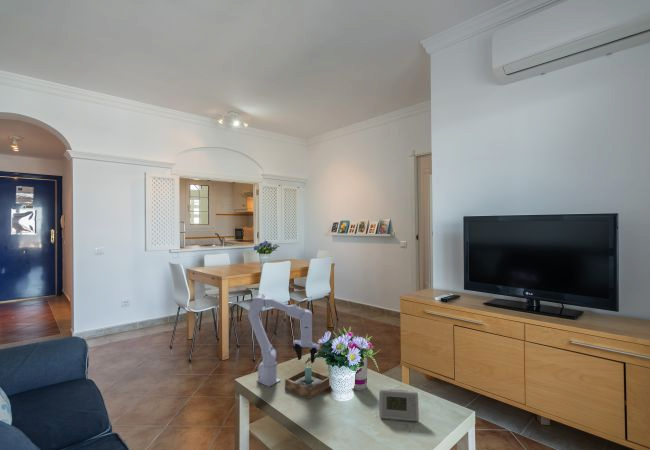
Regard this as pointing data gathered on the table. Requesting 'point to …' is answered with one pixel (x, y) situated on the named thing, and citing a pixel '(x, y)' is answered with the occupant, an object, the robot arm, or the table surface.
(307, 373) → the peg
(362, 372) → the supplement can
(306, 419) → the table surface
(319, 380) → the box
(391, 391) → the digital clock
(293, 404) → the table surface
